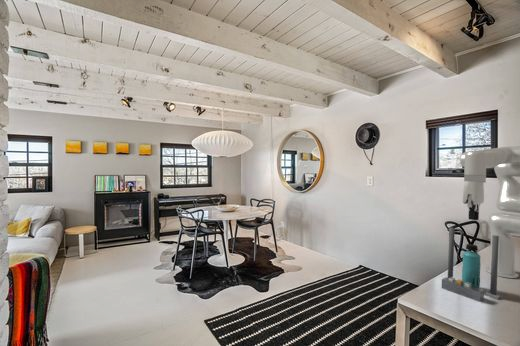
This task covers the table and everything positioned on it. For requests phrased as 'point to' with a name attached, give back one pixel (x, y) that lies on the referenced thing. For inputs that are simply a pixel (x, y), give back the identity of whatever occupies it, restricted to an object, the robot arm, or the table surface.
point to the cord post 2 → (494, 269)
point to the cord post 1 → (451, 252)
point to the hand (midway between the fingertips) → (473, 219)
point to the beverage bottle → (471, 266)
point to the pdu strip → (463, 288)
